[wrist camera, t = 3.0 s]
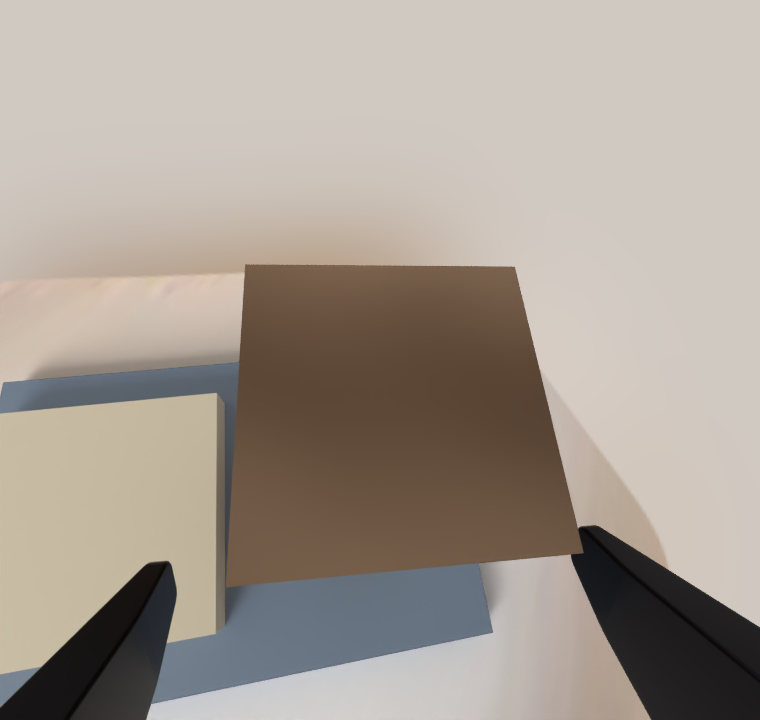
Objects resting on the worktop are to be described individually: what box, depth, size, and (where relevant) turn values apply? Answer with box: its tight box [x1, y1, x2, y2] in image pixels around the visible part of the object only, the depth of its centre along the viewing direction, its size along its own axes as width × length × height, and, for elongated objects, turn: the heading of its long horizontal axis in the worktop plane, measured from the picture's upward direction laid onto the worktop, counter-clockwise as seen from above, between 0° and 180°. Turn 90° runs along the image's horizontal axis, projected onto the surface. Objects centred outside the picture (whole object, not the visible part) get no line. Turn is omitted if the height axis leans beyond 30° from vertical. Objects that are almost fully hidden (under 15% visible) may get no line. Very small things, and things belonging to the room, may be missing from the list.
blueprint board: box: [0, 363, 493, 707], centre depth 17 cm, size 20×13×2 cm, turn 98°
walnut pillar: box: [226, 265, 584, 587], centre depth 13 cm, size 5×5×13 cm
